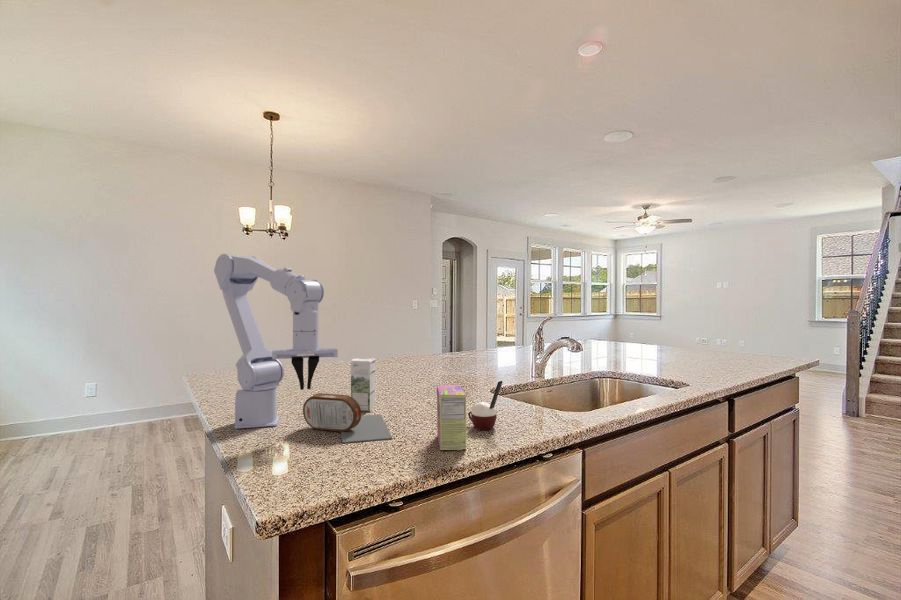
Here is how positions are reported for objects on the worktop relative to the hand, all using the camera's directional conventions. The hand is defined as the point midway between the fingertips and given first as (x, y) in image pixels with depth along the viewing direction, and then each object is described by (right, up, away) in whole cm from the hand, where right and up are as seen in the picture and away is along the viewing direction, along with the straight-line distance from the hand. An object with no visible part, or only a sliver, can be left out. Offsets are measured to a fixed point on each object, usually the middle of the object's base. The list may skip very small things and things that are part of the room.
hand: (305, 388), depth 102 cm
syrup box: (+9, -11, +22) cm, 26 cm away
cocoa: (+43, -11, +4) cm, 44 cm away
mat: (+13, -10, +4) cm, 17 cm away
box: (+34, -11, -6) cm, 36 cm away
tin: (+6, -10, +2) cm, 12 cm away
